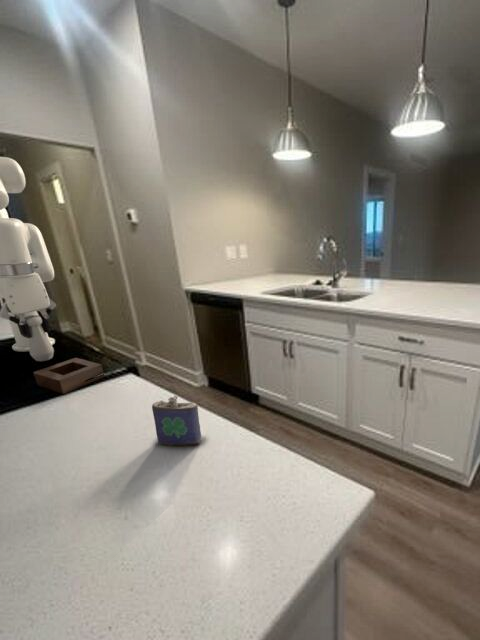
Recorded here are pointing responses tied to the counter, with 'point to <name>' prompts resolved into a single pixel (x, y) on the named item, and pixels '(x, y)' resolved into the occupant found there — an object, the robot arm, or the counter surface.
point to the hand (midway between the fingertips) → (36, 333)
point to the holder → (68, 375)
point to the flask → (177, 423)
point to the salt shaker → (38, 339)
